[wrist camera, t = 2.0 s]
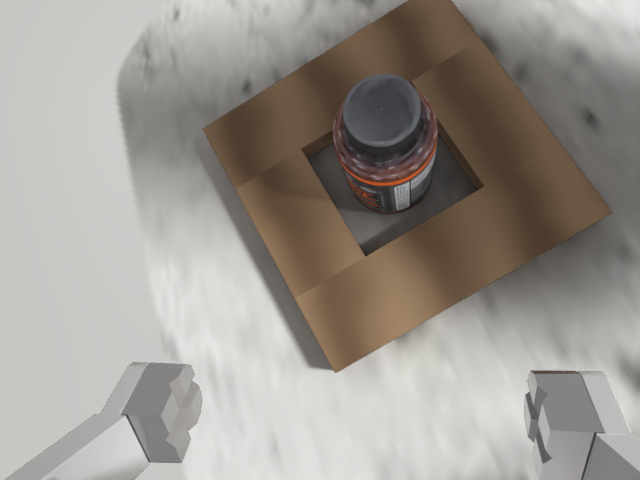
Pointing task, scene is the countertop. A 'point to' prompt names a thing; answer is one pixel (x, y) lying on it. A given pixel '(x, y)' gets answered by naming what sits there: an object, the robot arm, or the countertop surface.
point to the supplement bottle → (386, 142)
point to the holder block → (437, 232)
